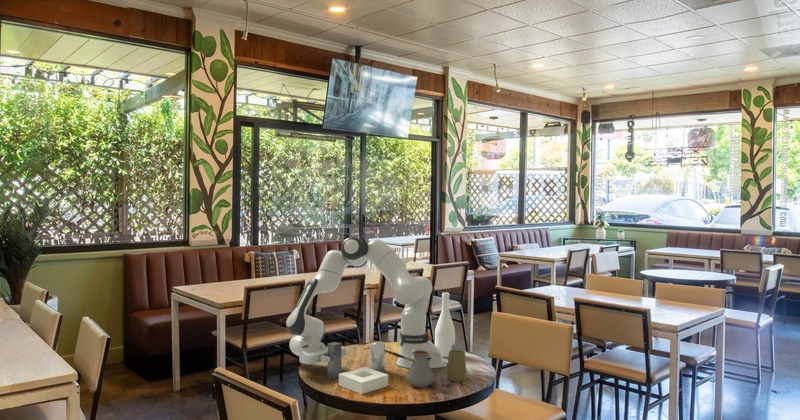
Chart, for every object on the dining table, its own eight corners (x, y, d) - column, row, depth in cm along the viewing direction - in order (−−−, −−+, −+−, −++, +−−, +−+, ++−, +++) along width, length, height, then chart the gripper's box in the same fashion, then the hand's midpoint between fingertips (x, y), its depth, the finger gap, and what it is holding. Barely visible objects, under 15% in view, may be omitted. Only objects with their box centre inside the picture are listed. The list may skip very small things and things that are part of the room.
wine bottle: (456, 353, 272) (458, 291, 271) (451, 358, 263) (452, 295, 263) (438, 351, 276) (439, 290, 275) (432, 356, 267) (433, 293, 266)
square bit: (334, 374, 238) (335, 341, 237) (340, 377, 235) (341, 343, 235) (327, 376, 235) (327, 343, 235) (333, 379, 232) (333, 345, 232)
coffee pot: (428, 378, 235) (428, 342, 234) (438, 387, 224) (439, 350, 223) (379, 383, 228) (379, 346, 228) (387, 392, 217) (387, 354, 217)
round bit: (383, 368, 248) (384, 341, 247) (386, 372, 241) (386, 345, 241) (369, 368, 247) (369, 341, 246) (370, 373, 240) (371, 345, 240)
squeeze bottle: (443, 378, 235) (444, 335, 235) (460, 375, 239) (461, 333, 238) (452, 384, 228) (453, 340, 228) (469, 381, 231) (470, 338, 231)
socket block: (365, 377, 235) (365, 366, 235) (388, 385, 225) (388, 374, 225) (338, 385, 225) (338, 373, 225) (361, 394, 215) (361, 382, 215)
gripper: (334, 354, 251) (354, 360, 241) (296, 363, 237) (315, 370, 227) (335, 340, 251) (355, 346, 241) (296, 348, 237) (316, 355, 227)
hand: (335, 358), depth 234 cm, fingers closed on square bit, 4 cm apart
